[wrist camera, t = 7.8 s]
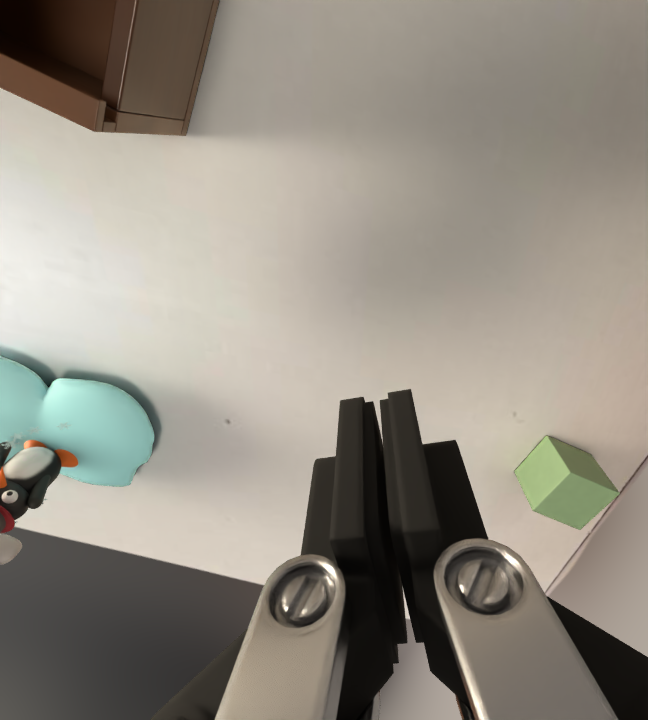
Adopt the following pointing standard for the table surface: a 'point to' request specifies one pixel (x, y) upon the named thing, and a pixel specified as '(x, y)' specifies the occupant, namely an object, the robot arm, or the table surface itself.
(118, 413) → the penguin figurine
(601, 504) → the block
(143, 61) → the box
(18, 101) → the table surface
